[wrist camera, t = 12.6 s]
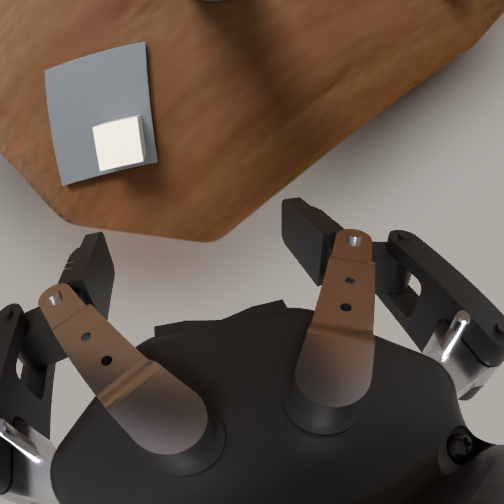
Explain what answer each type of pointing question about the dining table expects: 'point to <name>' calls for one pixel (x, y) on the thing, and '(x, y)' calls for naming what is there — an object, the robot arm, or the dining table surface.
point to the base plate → (97, 106)
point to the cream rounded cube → (119, 142)
